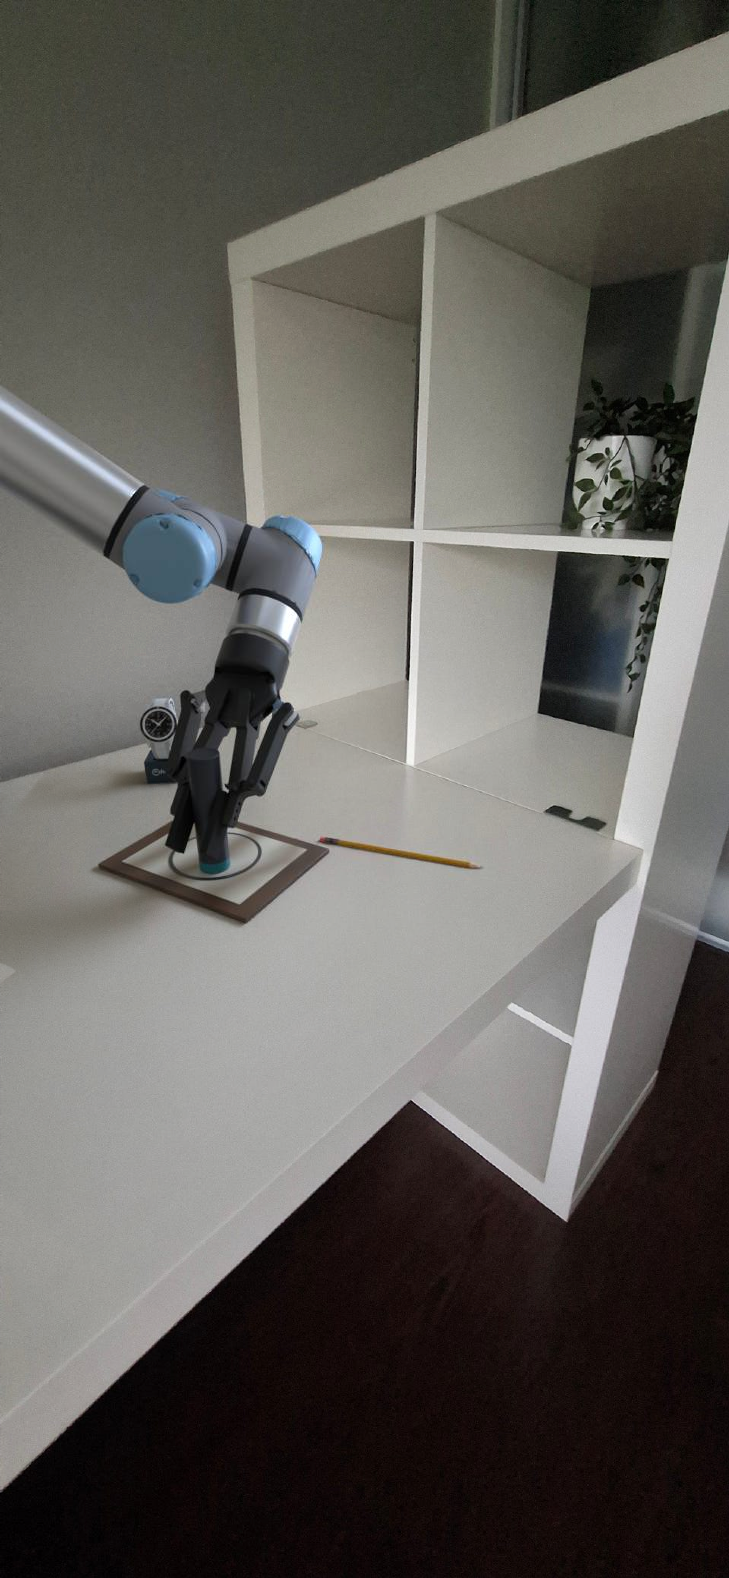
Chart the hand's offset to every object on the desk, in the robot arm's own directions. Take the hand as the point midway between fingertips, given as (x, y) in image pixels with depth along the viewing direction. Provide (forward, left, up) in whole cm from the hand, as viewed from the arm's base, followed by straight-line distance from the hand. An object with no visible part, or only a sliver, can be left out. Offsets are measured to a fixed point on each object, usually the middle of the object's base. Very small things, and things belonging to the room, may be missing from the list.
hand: (191, 852), depth 68 cm
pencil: (+15, +17, -5) cm, 23 cm away
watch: (-22, +20, -5) cm, 30 cm away
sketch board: (-2, +6, -5) cm, 8 cm away
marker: (-1, +4, -4) cm, 6 cm away
